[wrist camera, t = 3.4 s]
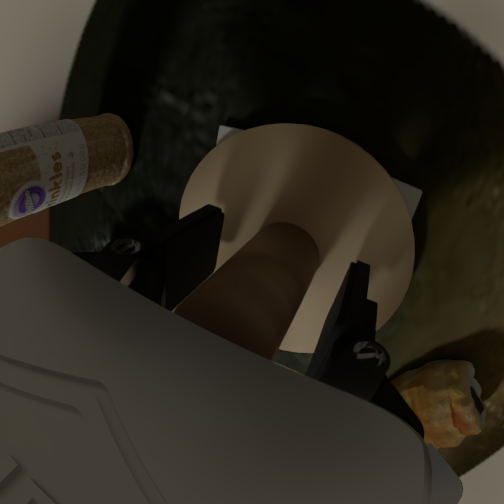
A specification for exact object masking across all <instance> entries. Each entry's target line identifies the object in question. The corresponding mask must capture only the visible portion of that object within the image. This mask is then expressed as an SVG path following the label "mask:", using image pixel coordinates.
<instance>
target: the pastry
mask: <svg viewBox="0 0 504 504" xmlns="http://www.w3.org/2000/svg"><path fill="white" fill-rule="evenodd" d="M474 375H475V368H474V367H473V365H472V363H471V362H469V361H465V360H449V359H441V360H435V361H430V362H427V363H426V364H425V365H423V366H421V367H420V368H417V369H414V370H408V371H406V372H405V373H403V374H401V375H400V376H398V377H396V378H394V379H393V380H392V381H391V383H392V384H393V385H394V386H395V388H396V389H397V390H398V392H399V393H400V394H401V396H402V397H403V398H404V400H405V401H406V402H407V404H408V405H409V406H410V408H411V409H412V410H413V412H414V413H415V414H416V416H417V417H418V418H419V420H420V421H421V423H422V425H423V428H424V442H425V443H426V444H427V445H428V444H429V443H431V444H432V445H433V446H434V448H435V449H436V450H438V449H439V448H440V447H456V446H459V445H460V444H461V443H462V441H463V440H464V438H465V437H466V436H467V435H473V434H478V433H480V432H481V431H482V425H483V423H484V421H485V415H486V406H485V404H484V403H483V401H482V400H481V398H480V395H481V393H482V391H481V387H480V384H479V383H478V382H477V380H476V379H475V378H474Z"/></svg>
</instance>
